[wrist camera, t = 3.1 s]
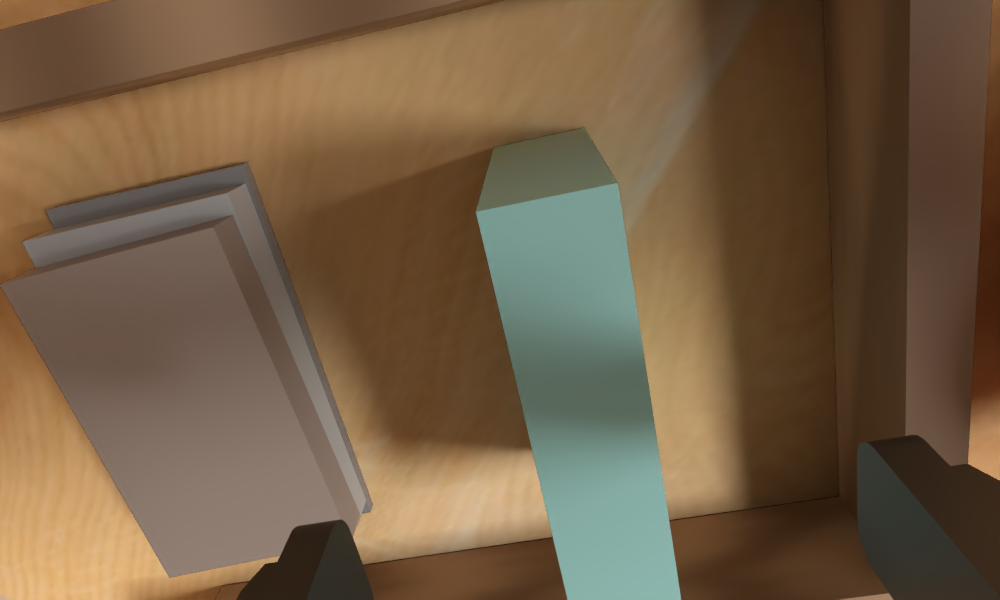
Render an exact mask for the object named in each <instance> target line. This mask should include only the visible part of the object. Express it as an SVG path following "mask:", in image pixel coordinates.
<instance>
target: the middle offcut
mask: <svg viewBox="0 0 1000 600" xmlns="http://www.w3.org/2000/svg"><path fill="white" fill-rule="evenodd" d="M231 215H233V217H234V219H235V221H236V224H237V226H238V228H239V231H240V233H241V235H242V238H243V240H244V242H245V245H246V247H247V249H248V252H249V254H250V257H251V259H252V261H253V264H254V266H255V268H256V271H257V273H258V275H259V278H260V280H261V282H262V285H263V287H264V289H265V292H266V294H267V296H268V299H269V301H270V303H271V306H272V308H273V311H274V313H275V315H276V318H277V320H278V322H279V325H280V327H281V329H282V332H283V334H284V336H285V339H286V341H287V343H288V346H289V348H290V350H291V353H292V355H293V358H294V360H295V362H296V365H297V367H298V369H299V372H300V374H301V376H302V379H303V381H304V383H305V386H306V388H307V390H308V393H309V395H310V397H311V400H312V402H313V404H314V407H315V409H316V412H317V414H318V416H319V419H320V421H321V423H322V426H323V428H324V430H325V433H326V435H327V437H328V440H329V442H330V444H331V447H332V449H333V451H334V454H335V456H336V459H337V461H338V463H339V466H340V468H341V470H342V473H343V475H344V477H345V480H346V482H347V484H348V487H349V489H350V491H351V494H352V496H353V498H354V501H355V503H356V505H357V508H358V510H359V513H360V516H359V519H358V522H357V525H358V523H359V520H360V517H361V514H362V511H363V508H364V505H365V502H366V499H365V496H364V494H363V491H362V488H361V486H360V483H359V480H358V478H357V475H356V473H355V470H354V467H353V465H352V462H351V459H350V457H349V454H348V451H347V449H346V446H345V444H344V441H343V438H342V436H341V433H340V430H339V428H338V425H337V423H336V420H335V417H334V415H333V412H332V409H331V407H330V404H329V402H328V399H327V396H326V394H325V391H324V388H323V386H322V383H321V380H320V378H319V375H318V373H317V370H316V367H315V365H314V362H313V359H312V357H311V354H310V352H309V349H308V346H307V344H306V341H305V338H304V336H303V333H302V330H301V328H300V325H299V323H298V320H297V317H296V315H295V312H294V309H293V307H292V304H291V302H290V299H289V296H288V294H287V291H286V288H285V286H284V283H283V280H282V278H281V275H280V273H279V270H278V267H277V265H276V262H275V259H274V257H273V254H272V252H271V249H270V246H269V244H268V241H267V238H266V236H265V233H264V230H263V228H262V225H261V223H260V220H259V217H258V215H257V212H256V209H255V207H254V204H253V202H252V199H251V196H250V194H249V191H248V188H247V186H246V183H244V184H240V185H236V186H232V187H228V188H224V189H219V190H215V191H211V192H207V193H203V194H198V195H194V196H190V197H186V198H182V199H178V200H173V201H169V202H165V203H161V204H157V205H152V206H148V207H144V208H140V209H136V210H131V211H127V212H123V213H119V214H115V215H111V216H106V217H102V218H98V219H94V220H90V221H85V222H81V223H77V224H73V225H69V226H65V227H60V228H56V229H52V230H49V231H47V232H45V233H42V234H40V235H37V236H35V237H32V238H30V239H28V240H25V241H23V242H22V243H23V245H24V247H25V249H26V251H27V253H28V255H29V256H30V258H31V260H32V262H33V264H34V266H35V268H38V267H42V266H46V265H49V264H53V263H57V262H61V261H64V260H68V259H72V258H75V257H79V256H83V255H86V254H90V253H94V252H98V251H101V250H105V249H109V248H112V247H116V246H120V245H123V244H127V243H131V242H135V241H138V240H142V239H146V238H149V237H153V236H157V235H160V234H164V233H168V232H172V231H175V230H179V229H183V228H186V227H190V226H194V225H197V224H201V223H205V222H209V221H212V220H216V219H220V218H223V217H227V216H231Z"/></svg>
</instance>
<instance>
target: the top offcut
mask: <svg viewBox="0 0 1000 600" xmlns="http://www.w3.org/2000/svg"><path fill="white" fill-rule="evenodd" d="M0 287H1V288H2V290H3V292H4V293H5V295H6V297H7V299H8V300H9V302H10V304H11V306H12V307H13V309H14V311H15V312H16V314H17V316H18V318H19V319H20V321H21V323H22V325H23V326H24V328H25V330H26V331H27V333H28V335H29V337H30V338H31V340H32V342H33V343H34V345H35V347H36V349H37V350H38V352H39V354H40V356H41V357H42V359H43V361H44V362H45V364H46V366H47V368H48V369H49V371H50V373H51V375H52V376H53V378H54V380H55V381H56V383H57V385H58V387H59V388H60V390H61V392H62V393H63V395H64V397H65V399H66V400H67V402H68V404H69V406H70V407H71V409H72V411H73V412H74V414H75V416H76V418H77V419H78V421H79V423H80V424H81V426H82V428H83V430H84V431H85V433H86V435H87V437H88V438H89V440H90V442H91V443H92V445H93V447H94V449H95V450H96V452H97V454H98V456H99V457H100V459H101V461H102V462H103V464H104V466H105V468H106V469H107V471H108V473H109V474H110V476H111V478H112V480H113V481H114V483H115V485H116V487H117V488H118V490H119V492H120V493H121V495H122V497H123V499H124V500H125V502H126V504H127V506H128V507H129V509H130V511H131V512H132V514H133V516H134V518H135V519H136V521H137V523H138V524H139V526H140V528H141V530H142V531H143V533H144V535H145V537H146V538H147V540H148V542H149V543H150V545H151V547H152V549H153V550H154V552H155V554H156V556H157V557H158V559H159V561H160V562H161V564H162V566H163V568H164V569H165V571H166V573H167V574H168V576H169V578H171V577H176V576H181V575H186V574H191V573H196V572H201V571H206V570H211V569H216V568H221V567H226V566H231V565H235V564H240V563H245V562H250V561H255V560H260V559H265V558H270V557H275V556H280V555H281V553H282V551H283V549H284V547H285V544H286V542H287V540H288V538H289V536H290V534H291V532H292V530H293V529H294V528H295V527H296V526H300V525H307V524H313V523H320V522H327V521H333V520H340V519H341V520H344V521H345V522H346V523H347V525H348V527H349V529H350V531H351V534H352V537H353V535H354V531H355V528H356V525H357V522H358V519H359V516H360V513H359V510H358V508H357V505H356V503H355V501H354V498H353V496H352V494H351V491H350V489H349V487H348V484H347V482H346V480H345V477H344V475H343V473H342V470H341V468H340V466H339V463H338V461H337V459H336V456H335V454H334V451H333V449H332V447H331V444H330V442H329V440H328V437H327V435H326V433H325V430H324V428H323V426H322V423H321V421H320V419H319V416H318V414H317V412H316V409H315V407H314V404H313V402H312V400H311V397H310V395H309V393H308V390H307V388H306V386H305V383H304V381H303V379H302V376H301V374H300V372H299V369H298V367H297V365H296V362H295V360H294V358H293V355H292V353H291V350H290V348H289V346H288V343H287V341H286V339H285V336H284V334H283V332H282V329H281V327H280V325H279V322H278V320H277V318H276V315H275V313H274V311H273V308H272V306H271V303H270V301H269V299H268V296H267V294H266V292H265V289H264V287H263V285H262V282H261V280H260V278H259V275H258V273H257V271H256V268H255V266H254V264H253V261H252V259H251V257H250V254H249V252H248V249H247V247H246V245H245V242H244V240H243V238H242V235H241V233H240V231H239V228H238V226H237V224H236V221H235V219H234V217H233V215H231V216H227V217H223V218H220V219H216V220H212V221H209V222H205V223H201V224H197V225H194V226H190V227H186V228H183V229H179V230H175V231H172V232H168V233H164V234H160V235H157V236H153V237H149V238H146V239H142V240H138V241H135V242H131V243H127V244H123V245H120V246H116V247H112V248H109V249H105V250H101V251H98V252H94V253H90V254H86V255H83V256H79V257H75V258H72V259H68V260H64V261H61V262H57V263H53V264H49V265H46V266H42V267H38V268H35V269H31V270H29V271H27V272H25V273H23V274H21V275H19V276H17V277H14V278H12V279H10V280H8V281H6V282H4V283H2V284H0Z"/></svg>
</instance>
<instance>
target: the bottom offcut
mask: <svg viewBox="0 0 1000 600" xmlns="http://www.w3.org/2000/svg"><path fill="white" fill-rule="evenodd" d="M244 183H246V186H247V188H248V191H249V194H250V196H251V199H252V202H253V204H254V207H255V209H256V212H257V215H258V217H259V220H260V223H261V225H262V228H263V230H264V233H265V236H266V238H267V241H268V244H269V246H270V249H271V252H272V254H273V257H274V259H275V262H276V265H277V267H278V270H279V273H280V275H281V278H282V280H283V283H284V286H285V288H286V291H287V294H288V296H289V299H290V302H291V304H292V307H293V309H294V312H295V315H296V317H297V320H298V323H299V325H300V328H301V330H302V333H303V336H304V338H305V341H306V344H307V346H308V349H309V352H310V354H311V357H312V359H313V362H314V365H315V367H316V370H317V373H318V375H319V378H320V380H321V383H322V386H323V388H324V391H325V394H326V396H327V399H328V402H329V404H330V407H331V409H332V412H333V415H334V417H335V420H336V423H337V425H338V428H339V430H340V433H341V436H342V438H343V441H344V444H345V446H346V449H347V451H348V454H349V457H350V459H351V462H352V465H353V467H354V470H355V473H356V475H357V478H358V480H359V483H360V486H361V488H362V491H363V494H364V496H365V499H366V502H365V505H364V508H363V511H362V513H368V512H371V508H372V505H373V503H372V500H371V498H370V495H369V492H368V489H367V487H366V484H365V481H364V478H363V476H362V473H361V470H360V467H359V465H358V462H357V459H356V456H355V454H354V451H353V448H352V446H351V443H350V440H349V437H348V435H347V432H346V429H345V426H344V424H343V421H342V418H341V415H340V413H339V410H338V407H337V404H336V402H335V399H334V396H333V394H332V391H331V388H330V385H329V383H328V380H327V377H326V374H325V372H324V369H323V366H322V363H321V361H320V358H319V355H318V352H317V350H316V347H315V344H314V342H313V339H312V336H311V333H310V331H309V328H308V325H307V322H306V320H305V317H304V314H303V311H302V309H301V306H300V303H299V300H298V298H297V295H296V292H295V290H294V287H293V284H292V281H291V279H290V276H289V273H288V270H287V268H286V265H285V262H284V259H283V257H282V254H281V251H280V248H279V246H278V243H277V240H276V238H275V235H274V232H273V229H272V227H271V224H270V221H269V218H268V216H267V213H266V210H265V207H264V205H263V202H262V199H261V196H260V194H259V191H258V188H257V186H256V183H255V180H254V177H253V175H252V172H251V169H250V166H249V164H248V162H246V163H242V164H238V165H233V166H229V167H225V168H220V169H216V170H212V171H207V172H203V173H199V174H194V175H190V176H186V177H181V178H177V179H173V180H169V181H164V182H160V183H156V184H151V185H147V186H143V187H138V188H134V189H130V190H125V191H121V192H117V193H112V194H108V195H104V196H100V197H95V198H91V199H87V200H82V201H78V202H74V203H69V204H65V205H61V206H56V207H53V208H51V209H48V210H45V211H46V213H47V215H48V217H49V219H50V221H51V223H52V225H53V227H54V229H56V228H60V227H65V226H69V225H73V224H77V223H81V222H85V221H90V220H94V219H98V218H102V217H106V216H111V215H115V214H119V213H123V212H127V211H131V210H136V209H140V208H144V207H148V206H152V205H157V204H161V203H165V202H169V201H173V200H178V199H182V198H186V197H190V196H194V195H198V194H203V193H207V192H211V191H215V190H219V189H224V188H228V187H232V186H236V185H240V184H244Z"/></svg>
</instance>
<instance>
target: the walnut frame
mask: <svg viewBox="0 0 1000 600" xmlns="http://www.w3.org/2000/svg"><path fill="white" fill-rule="evenodd" d="M501 1H505V0H113V1H109V2H105V3H101V4H97V5H93V6H90V7H86V8H82V9H78V10H74V11H70V12H66V13H63V14H59V15H55V16H51V17H47V18H43V19H39V20H35V21H32V22H28V23H24V24H20V25H16V26H12V27H8V28H5V29H1V30H0V122H2V121H6V120H10V119H15V118H19V117H23V116H27V115H31V114H35V113H40V112H44V111H48V110H52V109H56V108H60V107H64V106H69V105H73V104H77V103H81V102H85V101H89V100H94V99H98V98H102V97H106V96H110V95H114V94H118V93H123V92H127V91H131V90H135V89H139V88H143V87H148V86H152V85H156V84H160V83H164V82H168V81H172V80H177V79H181V78H185V77H189V76H193V75H197V74H202V73H206V72H210V71H214V70H218V69H222V68H226V67H231V66H235V65H239V64H243V63H247V62H251V61H256V60H260V59H264V58H268V57H272V56H276V55H280V54H285V53H289V52H293V51H297V50H301V49H305V48H310V47H314V46H318V45H322V44H326V43H330V42H335V41H339V40H343V39H347V38H351V37H355V36H359V35H364V34H368V33H372V32H376V31H380V30H384V29H389V28H393V27H397V26H401V25H405V24H409V23H413V22H418V21H422V20H426V19H430V18H434V17H438V16H443V15H447V14H451V13H455V12H459V11H463V10H467V9H472V8H476V7H480V6H484V5H488V4H492V3H497V2H501ZM823 11H824V41H825V71H826V101H827V131H828V161H829V191H830V220H831V250H832V280H833V310H834V340H835V370H836V400H837V430H838V460H839V490H840V496H839V497H832V498H825V499H818V500H811V501H804V502H798V503H791V504H784V505H777V506H770V507H763V508H756V509H749V510H742V511H735V512H729V513H722V514H715V515H708V516H701V517H694V518H687V519H680V520H673V521H669V523H670V529H671V536H672V542H673V549H674V555H675V562H676V568H677V575H678V582H679V588H680V595H681V600H893V599H892V597H891V595H890V594H889V592H888V591H887V589H886V588H885V586H884V585H883V583H882V582H881V580H880V579H879V577H878V576H877V574H876V573H875V571H874V570H873V568H872V566H871V565H870V563H869V561H868V559H867V556H866V554H865V552H864V549H863V546H862V543H861V539H860V535H859V530H858V515H857V452H858V447H859V445H860V444H861V443H862V442H868V441H874V440H881V439H888V438H894V437H901V436H907V435H918V436H920V437H922V438H923V439H924V440H925V441H926V442H927V443H928V444H929V445H930V446H931V447H932V448H933V449H934V450H935V451H936V452H937V453H938V454H939V455H940V456H941V457H942V458H943V459H944V460H945V461H946V462H947V463H948V464H949V465H950V466H955V465H961V464H968V449H969V430H970V411H971V392H972V374H973V355H974V336H975V317H976V298H977V279H978V260H979V241H980V222H981V204H982V185H983V166H984V147H985V128H986V109H987V90H988V71H989V52H990V34H991V15H992V0H823ZM363 567H364V570H365V572H366V575H367V578H368V580H369V583H370V586H371V589H372V593H373V598H374V600H567V595H566V591H565V587H564V583H563V578H562V574H561V570H560V566H559V561H558V557H557V553H556V549H555V545H554V540H553V538H549V539H542V540H535V541H528V542H522V543H515V544H508V545H501V546H494V547H487V548H480V549H473V550H466V551H459V552H453V553H446V554H439V555H432V556H425V557H418V558H411V559H404V560H397V561H390V562H384V563H377V564H370V565H363ZM247 584H248V582H246V583H239V584H232V585H225V586H222V588H221V589H220V591H219V593H218V595H217V597H216V599H215V600H236V599H237V597H238V595H239V593H240V591H241V590H242V589H243V588H244V587H245V586H246V585H247Z"/></svg>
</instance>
